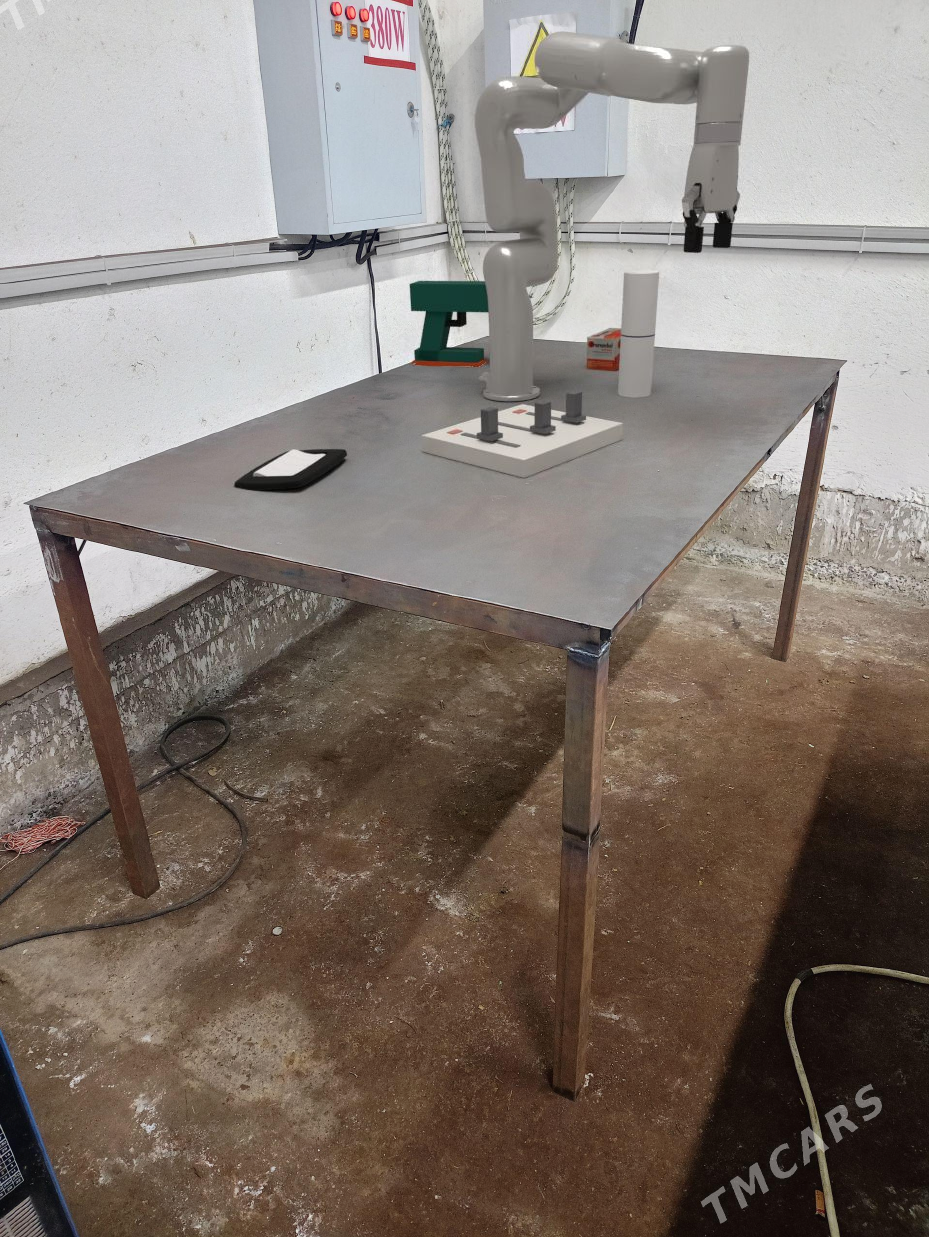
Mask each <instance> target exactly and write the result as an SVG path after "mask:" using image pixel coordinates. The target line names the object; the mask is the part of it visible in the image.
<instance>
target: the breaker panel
mask: <svg viewBox="0 0 929 1237" xmlns="http://www.w3.org/2000/svg"><path fill="white" fill-rule="evenodd" d="M565 414H566V411H559V410H555V409H551V425H553V426H556V431H553V432H550V433H547V434H543V433H538V432H534V431H530V426H532V425H534V417H535V405H534V406H533V405H529V404H525V403H524V404H519V405H515V406H512V407H509V408H506V409H503V410H498V432H500V433H503V438H500V439H497V440H494V441H489V440H484V439H480V438H477V433H479V432H481V416H480V417H477V418H476V417H475V418H473V419H470V420H467V421H464V422H460V423H457V424H454V425H451V426H447V427H443V428H441V429H438V430H435V431H431V432H428V433H425V434H422V435H421V446H422V447H421V448H422V452H423V453H425V454H430V455H432V456H433V455H434V456H438V457H441V458H445V459H449V460H454V461H458V462H460V463H465V464H469V465H472V466H477V467H479V468H480V467H481V468H484V469H488V470H492V471H495V472H499V473H500V472H501V473H503V474H507V475H511V476H516V477H518V478H524V479H525V478H528V477H530V476H534V475H535V474H537V473H540V472H543V471H546V470H548V469H551V468H553V467H555V466H559V465H560V464H563V463H566V462H568V461H571V460H573V459H576V458H578V457H581V456H583V455H586V454H588V453H591V452H594V451H597V450H599V449H602V448H603V447H607V446H609V445H611V444H614V443H617V442H619V441H621V440H623V433H624V432H623V431H624V423H623V422H619V421H614V420H613V421H612V420H608V419H602V418H597V417H592V416H588V415H586V420H584V421H581V422H578V423H574V422H569V421H564V420H561V416H562V415H565Z"/></svg>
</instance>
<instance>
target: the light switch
mask: <svg viewBox="0 0 929 1237" xmlns="http://www.w3.org/2000/svg"><path fill="white" fill-rule="evenodd" d="M346 457H348V452H347V450H346V449H345V448H344V449H343V448H324V449H323V448H316V449H314V448H313V449H293V448H292V449H291V450H288V451H284V452H283V453H280V454H278V455H276V456H275V457H273V458H271V459H269V460H266V461H265V462H263V463H261V464H260V465H258V466H256V467H254V468H253V469H252V470H250V471H248V472H247V473H245V474H244V475H242V476H241V477H239V478H238V479H236V481H234V486H233V487H234V488H236V489H242V490H252V491H255V490H256V491H257V490H259V491H260V490H261V491H263V490H265V491H266V490H268V491H269V490H285V489H296V488H301V487H304V486H305V485H307V484H309V483H310V482H313V481H314V480H316V479H318V478H320V476H321V477H322V475H324V474H326V473H327V472H329V471H330V470H332V469H333V468H334V467H336V466H337V465H338V464H339V463H341V462H342V461H343V460H344V459H345V458H346Z"/></svg>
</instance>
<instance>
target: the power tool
mask: <svg viewBox="0 0 929 1237" xmlns="http://www.w3.org/2000/svg"><path fill="white" fill-rule="evenodd" d="M529 297H530V299H532V298H533V299H534V296H531V295H529ZM409 298H410V299H409V300H410V312H425V315H424V320H423V326H422V333H421V338H420V344H419V347H418V348H416V349H413V350H414V351H413V352H414V359H413V360H412V361H411V364H413V363H416V364H415V365H421V367H422V366H423V367H442V366H471V367H472V366H473V367H479V366H481V365H482V364H484V363H485V362H487V363H488V361H487V360H488V358H485V348H484V347H483V348H482V347H457V346H456V347H455V346H453V347H452V346H448V341H449V336H450V330H451V328H455V327H456V328H463V327H464V326H466V325H467V313H488V297H487V290H486V285H485V280H417V281H414V282H411V283H409ZM454 313H456V319H453V315H454ZM415 365H414V366H415ZM484 365H485V364H484ZM481 367H482V366H481Z"/></svg>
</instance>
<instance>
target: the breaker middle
mask: <svg viewBox="0 0 929 1237" xmlns="http://www.w3.org/2000/svg"><path fill="white" fill-rule="evenodd" d="M534 406H535V417H534V425H532V426H530V431H534V432H538V433H543V434H547V433H550V432H553V431H556V426H553V425H551V410H552V401H549V400H539V401H536V402H534Z"/></svg>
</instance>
